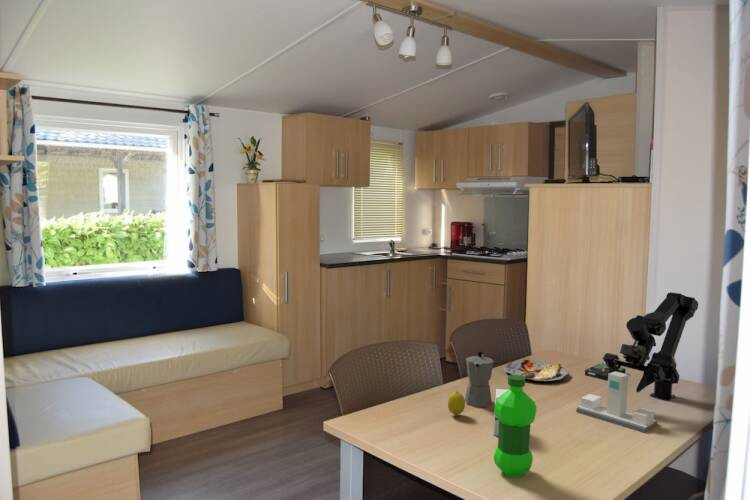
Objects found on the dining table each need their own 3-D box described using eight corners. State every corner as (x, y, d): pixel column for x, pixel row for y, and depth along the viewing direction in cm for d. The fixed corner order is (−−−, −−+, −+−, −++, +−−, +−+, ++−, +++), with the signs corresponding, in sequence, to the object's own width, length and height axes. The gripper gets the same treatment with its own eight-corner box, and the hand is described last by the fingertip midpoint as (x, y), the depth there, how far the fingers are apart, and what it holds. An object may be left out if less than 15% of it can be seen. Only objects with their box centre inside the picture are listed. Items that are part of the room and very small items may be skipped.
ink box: (493, 424, 179) (495, 388, 178) (510, 426, 178) (511, 389, 177) (493, 436, 171) (495, 397, 170) (511, 437, 170) (512, 399, 169)
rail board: (590, 404, 198) (591, 392, 198) (657, 424, 182) (658, 410, 182) (576, 411, 191) (576, 398, 191) (644, 432, 175) (645, 418, 175)
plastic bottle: (489, 477, 146) (493, 380, 143) (496, 460, 155) (499, 369, 153) (530, 485, 142) (535, 386, 140) (534, 466, 152) (539, 374, 149)
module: (613, 410, 190) (615, 371, 188) (626, 414, 186) (628, 374, 185) (605, 413, 187) (608, 373, 186) (618, 417, 183) (621, 377, 182)
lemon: (466, 414, 188) (467, 390, 187) (461, 420, 183) (462, 395, 182) (450, 411, 190) (451, 387, 189) (445, 417, 185) (445, 392, 184)
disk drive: (609, 383, 224) (625, 374, 235) (610, 376, 224) (626, 368, 234) (584, 376, 232) (600, 368, 242) (584, 369, 231) (601, 362, 242)
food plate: (520, 361, 249) (520, 353, 248) (575, 372, 235) (575, 364, 235) (495, 377, 228) (496, 368, 228) (554, 390, 215) (554, 381, 214)
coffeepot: (489, 411, 191) (492, 357, 189) (461, 407, 194) (463, 354, 192) (494, 396, 205) (496, 346, 204) (468, 392, 208) (469, 343, 206)
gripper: (607, 329, 197) (588, 367, 191) (662, 340, 183) (644, 381, 177) (617, 348, 203) (599, 385, 197) (672, 360, 189) (654, 401, 183)
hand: (623, 387), depth 188 cm, fingers open, 9 cm apart
